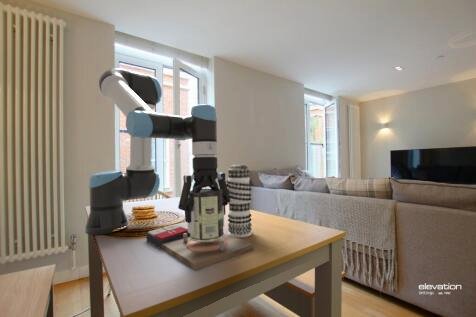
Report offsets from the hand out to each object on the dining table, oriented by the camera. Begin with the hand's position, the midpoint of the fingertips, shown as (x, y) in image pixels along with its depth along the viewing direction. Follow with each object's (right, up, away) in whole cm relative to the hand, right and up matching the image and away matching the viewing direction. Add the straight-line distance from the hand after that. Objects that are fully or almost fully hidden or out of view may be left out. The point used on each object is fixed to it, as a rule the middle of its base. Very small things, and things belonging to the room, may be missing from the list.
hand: (206, 229), depth 74 cm
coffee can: (0, -2, 0) cm, 2 cm away
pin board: (0, -6, 0) cm, 6 cm away
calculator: (-13, -7, +10) cm, 17 cm away
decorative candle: (+10, -6, +14) cm, 19 cm away
